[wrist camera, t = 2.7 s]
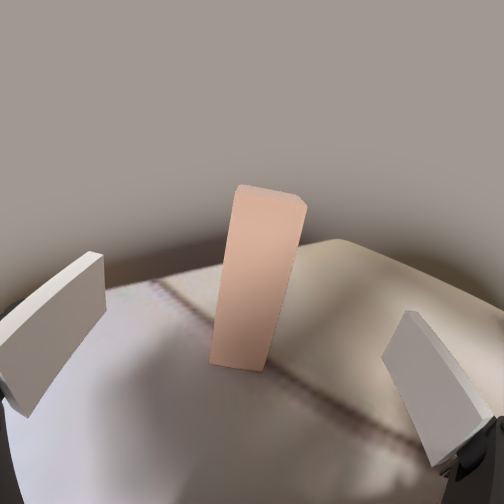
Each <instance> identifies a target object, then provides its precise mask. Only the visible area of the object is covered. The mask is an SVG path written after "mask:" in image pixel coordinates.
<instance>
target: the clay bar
mask: <svg viewBox="0 0 504 504" xmlns="http://www.w3.org/2000/svg"><path fill="white" fill-rule="evenodd" d="M306 210H307V205H306V204H305V203H304V202H303V201H302V200H301V199H300V198H299V197H298V196H297V195H294V194H289V193H285V192H280V191H275V190H269V189H264V188H259V187H254V186H248V185H243V184H240V185H239V186H238V188H237V190H236V192H235V197H234V203H233V208H232V214H231V221H230V226H229V233H228V238H227V245H226V250H225V257H224V263H223V269H222V276H221V282H220V289H219V295H218V302H217V309H216V316H215V323H214V330H213V337H212V345H211V352H210V360H209V364H214V365H220V366H225V367H232V368H238V369H245V370H252V371H259V372H262V371H263V368H264V365H265V361H266V358H267V355H268V352H269V348H270V345H271V342H272V338H273V335H274V331H275V328H276V325H277V321H278V318H279V314H280V311H281V307H282V304H283V300H284V296H285V293H286V289H287V285H288V282H289V278H290V274H291V270H292V267H293V263H294V259H295V255H296V251H297V247H298V243H299V239H300V235H301V231H302V227H303V223H304V219H305V215H306Z"/></svg>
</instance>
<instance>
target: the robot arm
mask: <svg viewBox="0 0 504 504" xmlns="http://www.w3.org/2000/svg"><path fill="white" fill-rule="evenodd" d="M106 311H107V309H106V297H105V282H104V255H102V254H98V253H94V252H90V251H89V252H87V253H86V254H84V255H83V256H81V257H80V258H79V259H77V260H76V261H74V262H73V263H72V264H70V265H69V266H68V267H66V268H65V269H63V270H62V271H61V272H59V273H58V274H57V275H55V276H54V277H53V278H52V279H50V280H49V281H48V282H46V283H45V284H44V285H42V286H41V287H40V288H39V289H38V290H36V291H35V292H34V293H32V294H31V295H30V296H29V297H28V298H26V299H25V298H24V299H22V300H19V301H17V302H15V303H13V304H12V305H10V306H9V307H8V308H7V309H6V310H4V313H1V314H0V504H24V501H23V498H22V495H21V492H20V489H19V485H18V482H17V478H16V475H15V471H14V467H13V462H12V458H11V453H10V448H9V442H8V436H7V430H6V422H5V413H4V407H3V404H2V402H1V401H2V400H3V398H4V397H5V398H6V399H7V401H8V402H9V404H10V406H11V407H12V408H13V409H14V410H16V411H17V412H19V413H20V414H22V415H23V416H25V417H26V418H29V416H30V415H31V413H32V412H33V410H34V408H35V407H36V405H37V404H38V402H39V401H40V399H41V398H42V396H43V395H44V393H45V392H46V390H47V389H48V387H49V386H50V385H51V383H52V382H53V380H54V379H55V377H56V376H57V375H58V373H59V372H60V370H61V369H62V368H63V366H64V365H65V364H66V362H67V361H68V359H69V358H70V357H71V355H72V354H73V353H74V351H75V350H76V349H77V347H78V346H79V345H80V344H81V342H82V341H83V340H84V338H85V337H86V336H87V335H88V333H89V332H90V331H91V329H92V328H93V327H94V326H95V324H96V323H97V322H98V321H99V319H100V318H101V317H102V316H103V315H104V313H105V312H106ZM381 358H382V360H383V361H384V363H385V365H386V367H387V369H388V371H389V373H390V375H391V377H392V379H393V381H394V383H395V385H396V387H397V389H398V391H399V394H400V396H401V398H402V400H403V402H404V404H405V406H406V408H407V411H408V413H409V415H410V417H411V419H412V421H413V424H414V426H415V428H416V430H417V433H418V435H419V437H420V440H421V442H422V444H423V447H424V449H425V452H426V454H427V457H428V459H429V462H430V464H431V467H434V466H437V465H440V464H443V463H445V462H446V461H448V460H449V459H450V458H451V457H452V456H453V455H455V454H457V456H458V458H457V459H455V460H454V461H453V462H452V463H451V464H449V465H448V466H447V467H446V468H444V469H443V470H442V471H441V472H440V474H439V475H440V476H441V475H443V474H444V473H445V472H447V471H448V470H451V471H449V472H448V473H447V474H446V475H445V476H444V477H446V478H448V482H447V485H446V489H445V492H444V495H443V499H442V502H441V504H504V416H500V417H498V419H497V418H496V417H495V416H494V414H493V413H492V411H491V409H490V408H489V406H488V405H487V403H486V402H485V400H484V399H483V397H482V396H481V394H480V393H479V391H478V390H477V388H476V387H475V385H474V384H473V382H472V381H471V380H470V378H469V377H468V375H467V374H466V373H465V371H464V370H463V369H462V367H461V366H460V364H459V363H458V362H457V360H456V359H455V358H454V356H453V355H452V354H451V353H450V351H449V350H448V349H447V347H446V346H445V345H444V344H443V342H442V341H441V340H440V338H439V337H438V336H437V335H436V333H435V332H434V331H433V330H432V329H431V327H430V326H429V325H428V324H427V323H426V321H425V320H424V319H423V318H422V317H421V315H420V314H419V313H418V312H414V311H405V313H404V315H403V317H402V319H401V321H400V323H399V325H398V327H397V329H396V331H395V333H394V335H393V337H392V339H391V341H390V342H389V344H388V346H387V348H386V350H385V351H384V353H383V355H382V357H381Z"/></svg>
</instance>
